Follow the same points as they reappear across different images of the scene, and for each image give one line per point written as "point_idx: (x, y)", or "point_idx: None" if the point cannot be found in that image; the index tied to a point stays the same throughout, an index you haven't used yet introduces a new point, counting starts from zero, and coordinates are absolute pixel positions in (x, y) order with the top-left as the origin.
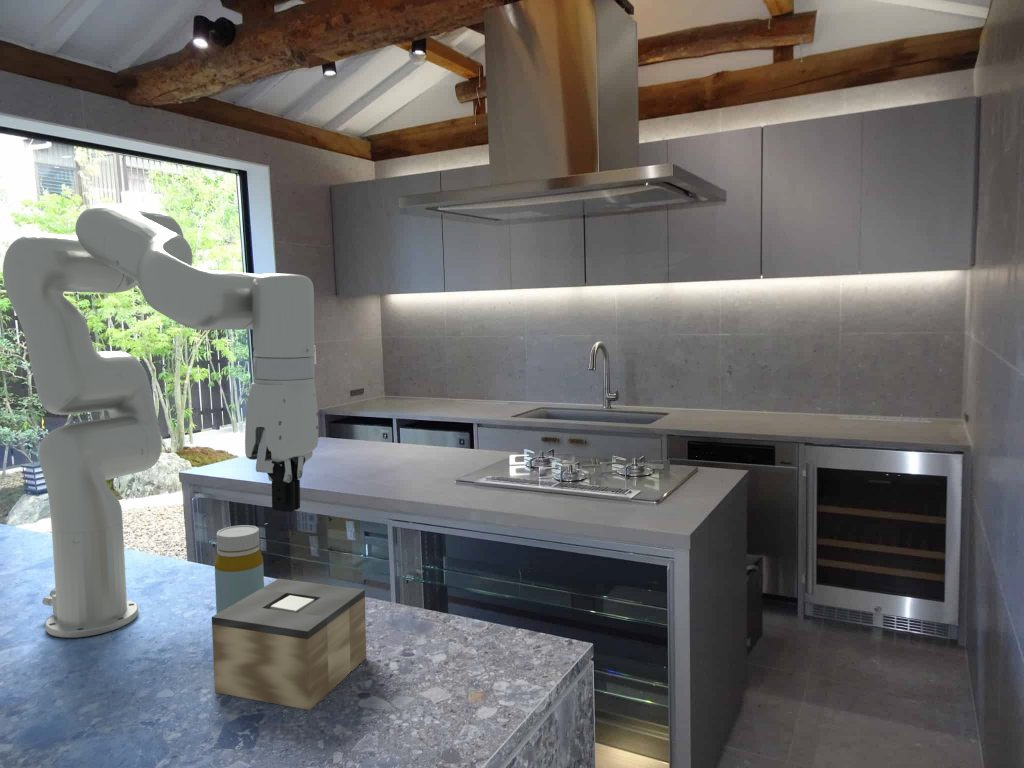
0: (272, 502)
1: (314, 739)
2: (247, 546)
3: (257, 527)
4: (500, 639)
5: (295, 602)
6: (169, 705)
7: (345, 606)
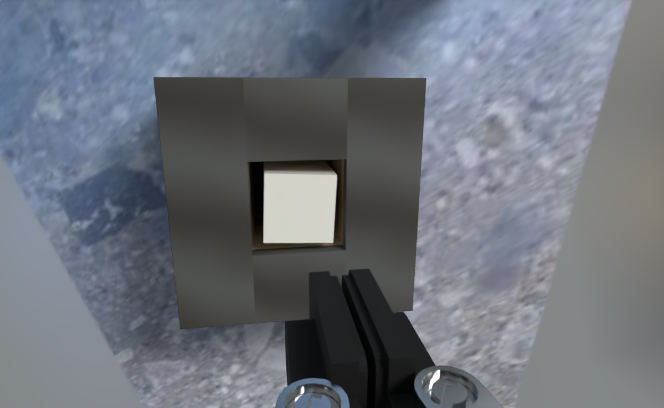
0: (313, 286)
1: (142, 309)
2: None
3: None
4: None
5: (303, 214)
6: (118, 29)
7: None
